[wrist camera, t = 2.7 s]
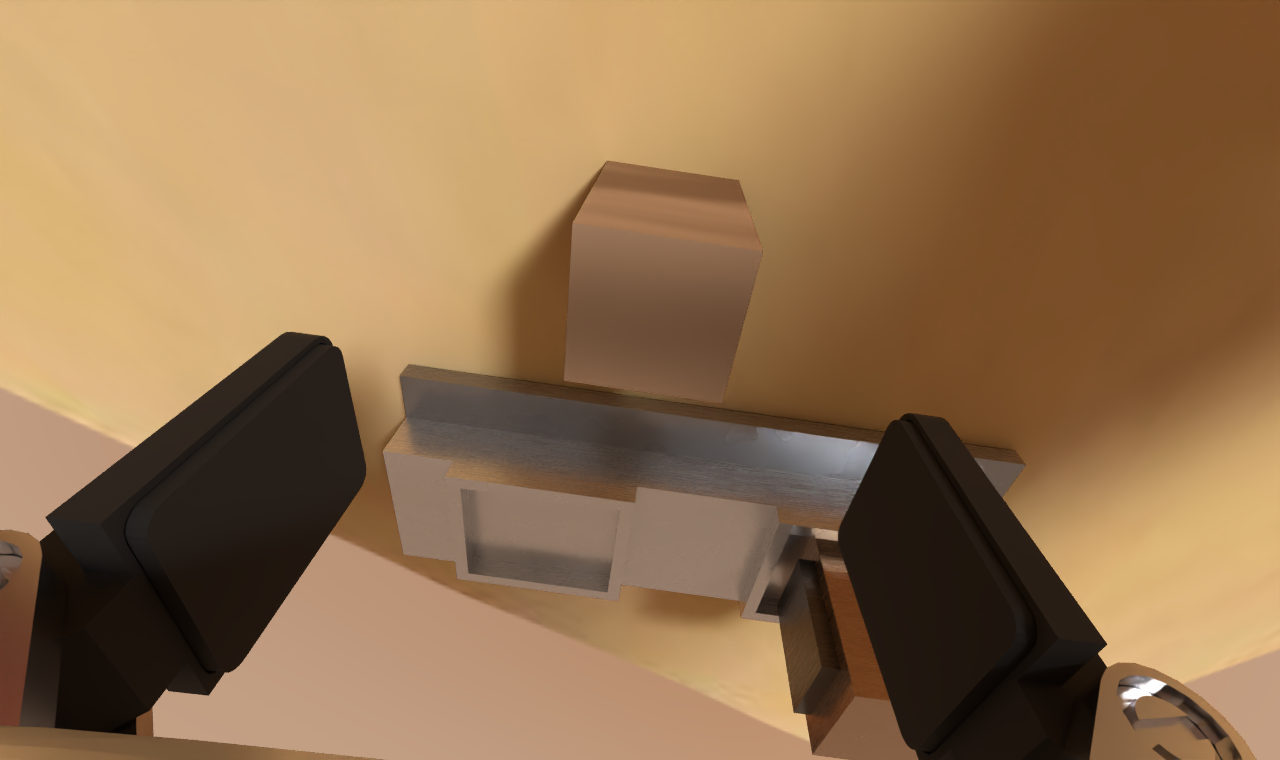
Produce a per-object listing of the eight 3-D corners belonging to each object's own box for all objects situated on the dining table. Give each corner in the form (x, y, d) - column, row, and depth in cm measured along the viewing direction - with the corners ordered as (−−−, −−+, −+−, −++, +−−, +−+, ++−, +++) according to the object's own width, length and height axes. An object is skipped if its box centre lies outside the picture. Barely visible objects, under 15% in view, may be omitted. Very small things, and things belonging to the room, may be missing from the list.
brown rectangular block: (607, 160, 16) (572, 223, 11) (738, 180, 16) (763, 251, 11) (595, 298, 19) (562, 399, 14) (708, 315, 19) (716, 422, 14)
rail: (1015, 450, 21) (1191, 680, 14) (910, 599, 27) (996, 817, 19) (408, 364, 21) (258, 551, 13) (433, 533, 26) (337, 729, 19)
